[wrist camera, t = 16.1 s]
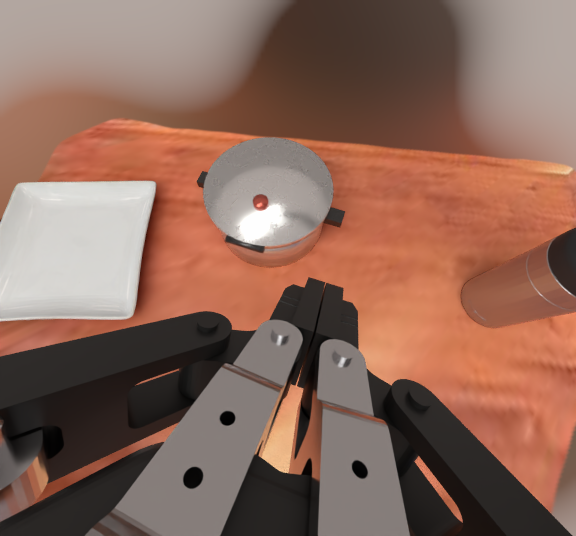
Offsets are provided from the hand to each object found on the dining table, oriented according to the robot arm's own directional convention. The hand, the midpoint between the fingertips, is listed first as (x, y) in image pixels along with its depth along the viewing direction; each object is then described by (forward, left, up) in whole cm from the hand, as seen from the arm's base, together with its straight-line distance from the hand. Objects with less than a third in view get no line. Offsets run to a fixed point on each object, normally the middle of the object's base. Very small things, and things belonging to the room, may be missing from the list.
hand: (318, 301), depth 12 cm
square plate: (+28, -34, -36) cm, 57 cm away
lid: (-7, -24, -27) cm, 37 cm away
